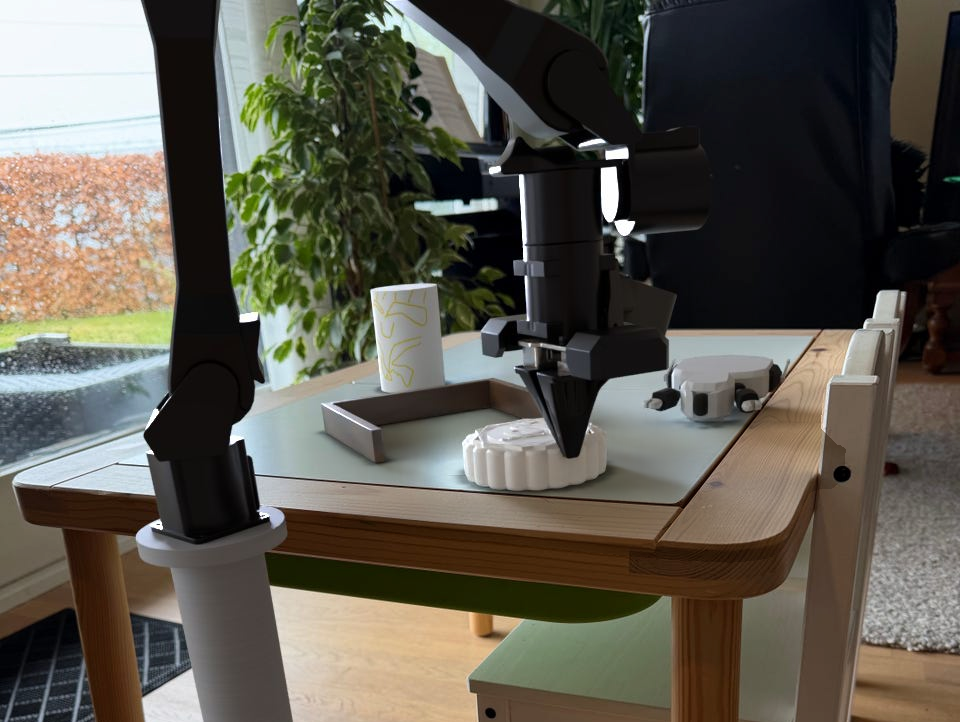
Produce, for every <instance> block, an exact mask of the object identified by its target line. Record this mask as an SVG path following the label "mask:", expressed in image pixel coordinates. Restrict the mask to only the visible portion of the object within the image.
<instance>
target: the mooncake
mask: <svg viewBox="0 0 960 722" xmlns="http://www.w3.org/2000/svg"><path fill="white" fill-rule="evenodd" d="M462 455H463V467H464V474H465V476H466V478H467V480H468V481H469V482H470V483H475V485H477V486H479V487H483V488H486V487H487V488H490V489H493V490H509V491H513V492H521V491H544V490H548V489H562V488H566V487H568V486H577V485H581V484H583V483H585V482H586V481H591V480H595V479H597V478H598V476H600V475H601V474H603V473H605V471H606V468H607V463H608V461H607V460H608V458H607V433H606V431H604V430H603V429H601V427H600V426H598V425H594V423H593V422H589V424H588V427H587V431H586V434H585V438H584V441H583V445H582V448H581V452H580V455H579V456H578V457H577V458H571V459H567V458H565V457H563V455H562V453H561V451H560V449H559V447H558V445H557V443H556V441H555V439H554V438H553V436H552V434H551V432H550V430H549V428H548V426H547V424H546V422H545V420H544V418H537V419H523V418H521V419H516V420H513V421H508V422H501V423H495V424H494V423H493V424H486V426H485V427H482V428H477V429H475V431H474V433H470V434H468V435H467V436H466V438H465V439H464V440H463V441H462Z"/></svg>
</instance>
